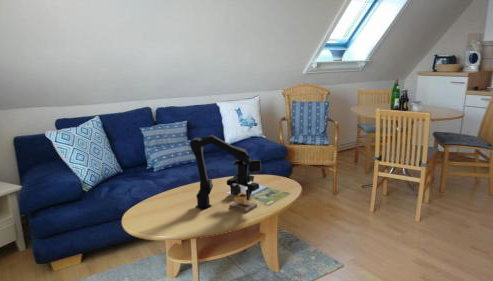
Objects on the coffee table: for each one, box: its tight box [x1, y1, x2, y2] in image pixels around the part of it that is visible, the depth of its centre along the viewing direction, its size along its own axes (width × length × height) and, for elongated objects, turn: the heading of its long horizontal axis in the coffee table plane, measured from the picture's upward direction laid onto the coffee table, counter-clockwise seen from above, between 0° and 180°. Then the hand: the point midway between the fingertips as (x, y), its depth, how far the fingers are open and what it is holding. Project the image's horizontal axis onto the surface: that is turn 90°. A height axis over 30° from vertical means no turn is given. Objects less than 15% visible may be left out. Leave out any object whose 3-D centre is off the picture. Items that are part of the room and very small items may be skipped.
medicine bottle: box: [230, 174, 247, 197], centre depth 209 cm, size 7×7×12 cm
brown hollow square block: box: [233, 193, 253, 204], centre depth 190 cm, size 7×7×3 cm
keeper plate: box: [228, 197, 258, 214], centre depth 191 cm, size 10×12×6 cm
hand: (242, 198), depth 190 cm, fingers closed on brown hollow square block, 7 cm apart
